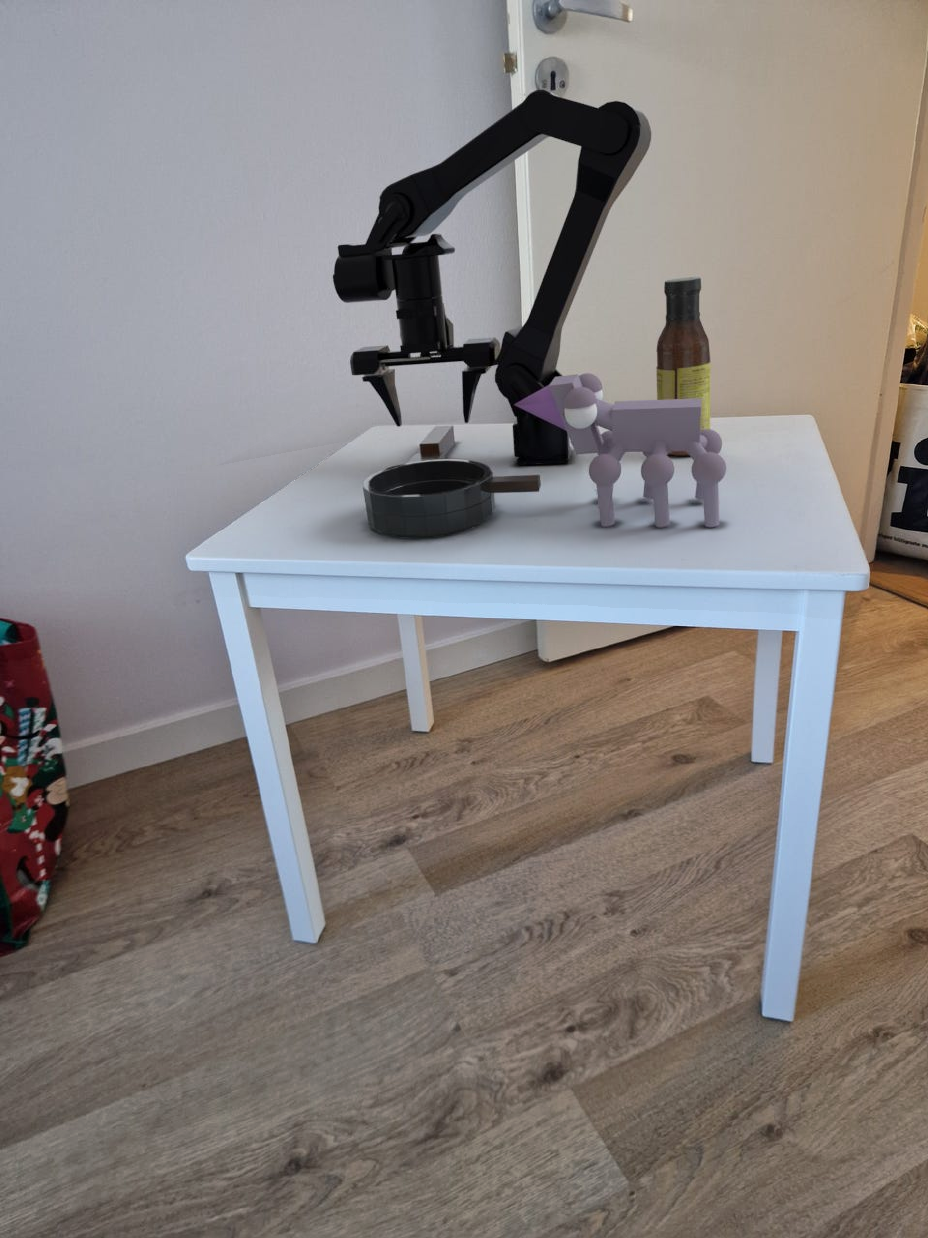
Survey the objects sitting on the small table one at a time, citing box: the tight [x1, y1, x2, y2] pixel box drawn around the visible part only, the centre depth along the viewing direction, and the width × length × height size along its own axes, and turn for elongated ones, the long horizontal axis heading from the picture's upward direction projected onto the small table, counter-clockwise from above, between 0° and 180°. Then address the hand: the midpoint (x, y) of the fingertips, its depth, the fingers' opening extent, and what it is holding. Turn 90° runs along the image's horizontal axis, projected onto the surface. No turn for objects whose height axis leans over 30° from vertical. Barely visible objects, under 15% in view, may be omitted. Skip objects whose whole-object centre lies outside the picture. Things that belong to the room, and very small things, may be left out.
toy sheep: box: [514, 372, 727, 528], centre depth 76 cm, size 20×11×14 cm, turn 74°
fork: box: [406, 425, 456, 463], centre depth 104 cm, size 17×4×3 cm, turn 170°
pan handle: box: [490, 474, 542, 494], centre depth 80 cm, size 5×2×1 cm, turn 80°
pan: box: [362, 458, 496, 539], centre depth 82 cm, size 13×13×4 cm
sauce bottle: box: [655, 276, 711, 457], centre depth 93 cm, size 6×6×20 cm
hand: (432, 424), depth 104 cm, fingers open, 9 cm apart
